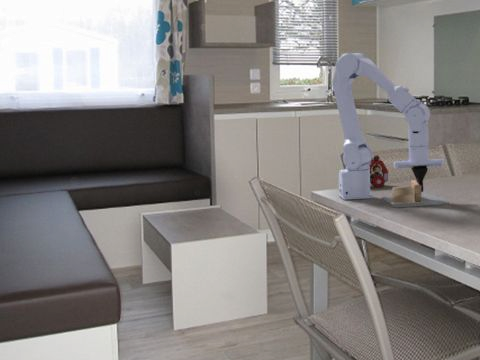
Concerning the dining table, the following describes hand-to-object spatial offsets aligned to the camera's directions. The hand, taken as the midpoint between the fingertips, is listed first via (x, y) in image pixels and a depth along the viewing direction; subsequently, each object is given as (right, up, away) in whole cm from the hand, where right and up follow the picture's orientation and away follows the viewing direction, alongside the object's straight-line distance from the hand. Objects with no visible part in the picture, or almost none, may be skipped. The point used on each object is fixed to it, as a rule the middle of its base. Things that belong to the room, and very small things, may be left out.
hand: (419, 191), depth 210 cm
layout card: (-2, -3, -1) cm, 4 cm away
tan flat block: (-1, -2, +1) cm, 2 cm away
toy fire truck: (-10, +1, +28) cm, 30 cm away
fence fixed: (-5, -3, -4) cm, 7 cm away
